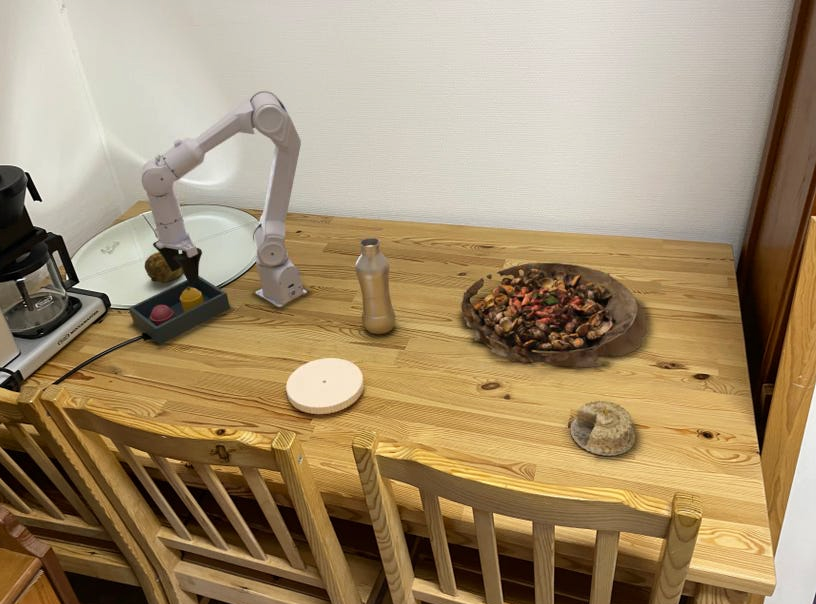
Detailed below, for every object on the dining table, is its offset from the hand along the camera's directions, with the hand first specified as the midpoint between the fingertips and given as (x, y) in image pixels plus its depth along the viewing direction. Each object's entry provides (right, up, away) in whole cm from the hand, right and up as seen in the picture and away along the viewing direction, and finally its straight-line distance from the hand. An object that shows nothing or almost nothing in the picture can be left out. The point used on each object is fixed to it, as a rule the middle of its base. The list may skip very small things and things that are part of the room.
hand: (184, 275), depth 156 cm
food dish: (+75, -9, -13) cm, 77 cm away
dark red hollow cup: (-4, -11, +1) cm, 12 cm away
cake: (+76, -28, -40) cm, 90 cm away
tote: (-1, -9, +4) cm, 10 cm away
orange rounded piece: (+1, -7, +5) cm, 9 cm away
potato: (-8, 0, +19) cm, 21 cm away
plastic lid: (+31, -23, -23) cm, 45 cm away
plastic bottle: (+42, -11, -9) cm, 44 cm away
